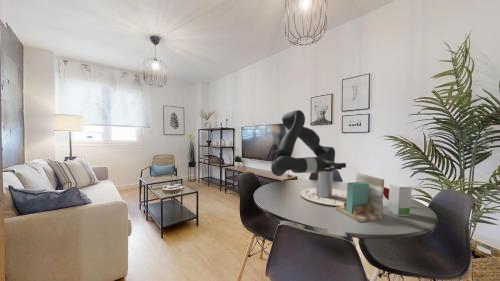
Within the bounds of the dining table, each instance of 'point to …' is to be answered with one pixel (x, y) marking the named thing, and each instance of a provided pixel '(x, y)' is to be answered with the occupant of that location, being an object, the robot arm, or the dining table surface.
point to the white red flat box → (387, 193)
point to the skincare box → (399, 199)
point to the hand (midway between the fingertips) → (339, 163)
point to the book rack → (374, 200)
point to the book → (356, 195)
